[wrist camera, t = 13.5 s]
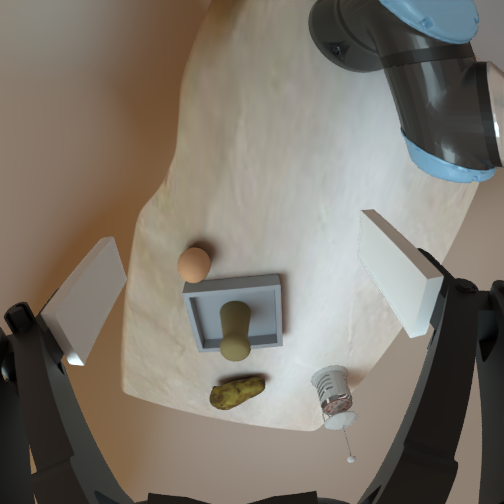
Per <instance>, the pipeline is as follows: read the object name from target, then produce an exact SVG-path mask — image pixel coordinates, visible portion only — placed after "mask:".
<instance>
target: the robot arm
mask: <svg viewBox="0 0 504 504" xmlns="http://www.w3.org/2000/svg"><path fill="white" fill-rule="evenodd" d="M478 22H479V15H478V12H477V9H476V6H475V3H474V1H473V0H317V1H316V3H315V4H314V5H313V7H312V9H311V11H310V14H309V30H310V34H311V37H312V39H313V41H314V43H315V44H316V46H317V47H318V49H319V50H320V51H321V52H322V54H323V55H324V56H325V57H327V58H328V59H329V60H330V61H332V62H333V63H335V64H336V65H338V66H340V67H342V68H344V69H347V70H350V71H354V72H362V73H365V72H373V71H377V70H381V69H384V68H385V69H384V72H385V75H386V78H387V81H388V84H389V87H390V90H391V93H392V96H393V99H394V102H395V106H396V109H397V113H398V116H399V120H400V123H401V133H402V135H403V137H404V138H405V141H406V144H407V148H408V152H409V155H410V157H411V159H412V161H413V162H414V163H415V164H416V165H417V167H418V168H419V169H421V170H422V171H424V172H425V173H427V174H429V175H431V176H433V177H436V178H439V179H443V180H447V181H452V182H458V183H471V182H472V180H473V181H476V182H482V181H485V180H488V179H489V178H491V177H492V176H493V175H494V174H495V171H496V169H497V167H504V72H503V71H502V70H500V69H499V68H498V67H497V66H496V65H495V64H493V63H492V62H489V61H488V62H477V61H476V59H475V56H474V53H473V50H472V47H471V44H470V40H472V38H473V37H474V36H475V35H476V33H477V31H478V25H477V23H478ZM442 59H443V60H442ZM433 60H434V61H433ZM412 63H413V64H412ZM405 64H407V65H405ZM399 65H401V66H399ZM394 66H395V67H394ZM389 67H390V68H389ZM358 258H359V260H360V261H361V263H362V264H363V265H364V267H365V268H366V270H367V271H368V273H369V274H370V276H371V277H372V279H373V280H374V282H375V283H376V285H377V286H378V288H379V289H380V291H381V292H382V294H383V295H384V297H385V298H386V300H387V301H388V303H389V305H390V306H391V308H392V309H393V311H394V312H395V314H396V316H397V317H398V319H399V320H400V322H401V324H402V325H403V327H404V328H405V330H406V332H407V334H408V335H409V337H410V338H413V337H417V336H421V335H425V334H426V332H427V329H428V327H429V324H430V323H431V325H432V326H433V328H434V332H433V335H432V337H431V340H430V342H429V345H428V347H427V349H428V352H427V355H426V358H425V361H424V365H423V368H422V371H421V374H420V377H419V380H418V383H417V386H416V388H415V391H414V394H413V396H412V399H411V402H410V404H409V407H408V409H407V412H406V414H405V416H404V419H403V421H402V424H401V426H400V428H399V430H398V433H397V435H396V437H395V439H394V441H393V443H392V445H391V448H390V450H389V452H388V454H387V455H386V458H385V459H384V462H383V463H382V465H381V467H380V469H379V471H378V473H377V474H376V476H375V478H374V479H373V481H372V483H371V484H370V485H369V487H368V488H367V490H366V491H365V493H364V494H363V496H362V497H361V499H360V500H359V502H358V503H357V504H445V503H446V500H447V498H448V496H449V493H450V491H451V488H452V485H453V482H454V480H455V477H456V474H457V470H458V462H456V461H455V460H454V456H455V452H456V449H457V445H458V442H459V438H460V434H461V431H462V427H463V423H464V419H465V415H466V410H467V406H468V401H469V396H470V390H471V384H472V378H473V371H474V364H475V356H476V363H477V370H478V378H479V387H480V398H481V413H482V467H481V481H480V491H479V504H504V281H502V280H497V281H494V282H493V284H492V287H491V290H490V291H479V290H478V288H477V286H476V285H475V284H473V283H472V282H471V281H468V280H466V279H461V278H457V279H455V278H454V277H453V276H452V275H451V274H450V273H449V272H448V271H447V270H446V269H445V268H444V267H443V266H442V265H440V263H439V262H438V261H437V260H435V258H434V257H433V256H432V255H431V254H430V253H428V252H426V251H424V250H423V249H421V248H417V249H416V248H415V247H414V246H413V245H412V244H411V243H410V242H409V241H408V240H407V239H406V238H405V237H404V236H403V235H402V234H401V233H400V232H398V231H397V230H396V229H395V228H394V227H393V226H392V225H391V224H390V223H389V222H387V221H386V220H385V219H384V218H383V217H382V216H381V215H380V214H378V213H377V212H376V211H375V210H374V209H372V210H361V214H360V232H359V246H358ZM126 281H127V278H126V275H125V272H124V269H123V266H122V263H121V260H120V257H119V254H118V250H117V247H116V244H115V241H114V237H106V238H101V239H100V241H99V242H98V243H97V244H96V245H95V246H94V247H93V248H92V250H91V251H90V252H89V253H88V254H87V255H86V257H85V258H84V259H83V260H82V261H81V263H80V264H79V265H78V266H77V267H76V268H75V270H74V271H73V272H72V273H71V275H70V276H69V277H68V278H67V279H66V281H65V282H64V283H63V284H62V286H61V287H60V288H58V289H57V290H56V291H55V293H54V294H53V295H52V296H51V298H50V299H49V300H48V302H47V304H45V305H44V307H43V308H42V309H41V311H40V312H39V314H38V315H37V316H36V318H35V317H34V315H33V313H32V311H31V309H30V307H29V306H28V304H27V303H26V302H20V303H17V304H15V305H13V306H12V307H11V308H10V309H8V310H7V312H6V313H5V315H4V319H5V321H6V322H7V324H8V326H9V327H10V329H11V331H12V333H13V334H11V335H7V336H6V335H5V333H4V332H3V330H2V328H1V327H0V504H35V499H34V495H35V498H36V500H37V503H38V504H210V503H206V502H202V501H198V500H195V499H191V498H188V497H180V496H169V495H161V494H153V493H149V494H148V500H146V501H141V502H136V503H134V502H133V500H132V499H131V498H130V497H129V496H128V495H127V494H126V493H125V492H124V491H123V490H122V489H121V487H120V486H119V484H118V482H117V481H116V479H115V477H114V476H113V474H112V472H111V470H110V469H109V467H108V465H107V463H106V461H105V460H104V458H103V456H102V454H101V452H100V450H99V448H98V447H97V444H96V442H95V440H94V438H93V436H92V434H91V432H90V430H89V427H88V425H87V423H86V421H85V419H84V416H83V414H82V412H81V409H80V407H79V404H78V402H77V399H76V397H75V394H74V392H73V389H72V386H71V383H70V381H69V378H68V375H67V372H66V369H65V366H64V365H63V363H62V362H61V359H62V357H63V355H65V357H66V358H67V360H68V361H69V363H70V364H76V365H84V364H85V361H86V359H87V357H88V355H89V353H90V351H91V348H92V346H93V344H94V342H95V340H96V338H97V336H98V334H99V332H100V330H101V328H102V326H103V324H104V322H105V320H106V318H107V316H108V314H109V312H110V310H111V309H112V306H113V305H114V303H115V301H116V299H117V297H118V295H119V293H120V292H121V290H122V288H123V286H124V284H125V283H126ZM2 373H3V374H4V375H5V377H6V380H4V378H3V375H2ZM29 445H30V448H31V452H32V456H33V459H34V462H35V465H36V469H37V472H36V473H33V474H31V466H30V453H29ZM33 492H34V493H33ZM249 504H349V503H347V502H344V501H339V500H335V499H330V498H318V497H317V493H316V491H312V492H306V493H299V494H291V495H283V496H273V497H270V498H267V499H263V500H260V501H256V502H253V503H249Z"/></svg>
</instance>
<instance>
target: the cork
mask: <svg viewBox="0 0 504 504" xmlns="http://www.w3.org/2000/svg"><path fill="white" fill-rule="evenodd" d="M250 317H251V310H250V308H249V306H248V305H247V304H245V303H243V302H241V301H230V302H227V303H225V304H224V305H223V306H222V307H221V309H220V319H221V327H222V334H223V339H222V340H221V343H220V352H221V354H222V355H223V357H224V358H226V359H227V360H230V361H241V360H243V359H245V358H246V357H247V356H248V355H249V353H250V350H251V345H250V342H249V340H248V331H249V324H250Z"/></svg>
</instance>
